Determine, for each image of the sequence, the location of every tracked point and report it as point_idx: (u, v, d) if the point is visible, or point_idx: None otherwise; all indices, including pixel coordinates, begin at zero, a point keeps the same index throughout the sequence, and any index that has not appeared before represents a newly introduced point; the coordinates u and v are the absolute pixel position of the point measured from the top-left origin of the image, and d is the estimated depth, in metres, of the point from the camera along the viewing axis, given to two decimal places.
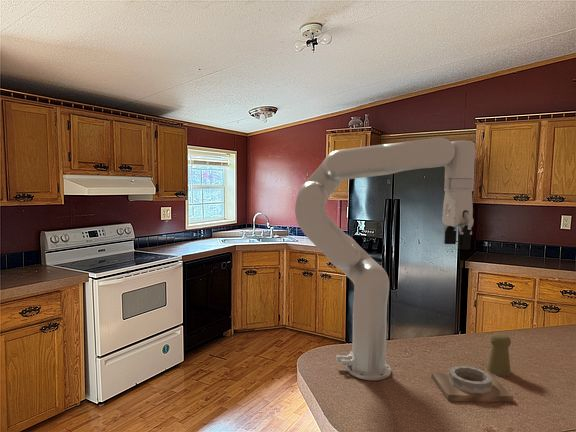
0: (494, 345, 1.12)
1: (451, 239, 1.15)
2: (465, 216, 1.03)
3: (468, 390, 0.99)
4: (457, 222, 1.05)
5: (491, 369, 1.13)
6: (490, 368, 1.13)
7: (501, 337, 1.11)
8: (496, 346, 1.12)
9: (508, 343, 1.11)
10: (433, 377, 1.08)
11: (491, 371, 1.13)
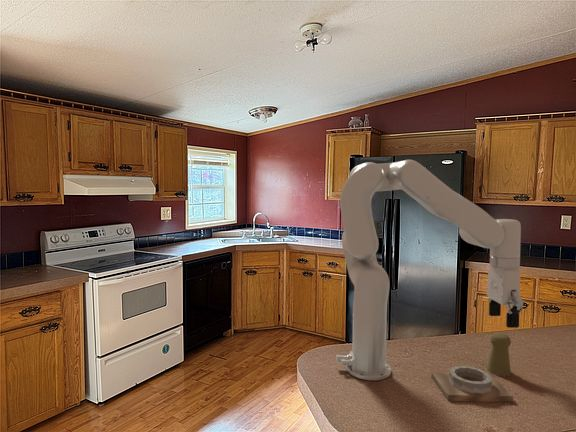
0: (494, 345, 1.12)
1: (496, 311, 1.17)
2: (514, 296, 1.06)
3: (468, 390, 0.99)
4: (505, 301, 1.07)
5: (491, 369, 1.13)
6: (490, 368, 1.13)
7: (501, 337, 1.11)
8: (496, 346, 1.12)
9: (508, 343, 1.11)
10: (433, 377, 1.08)
11: (491, 371, 1.13)
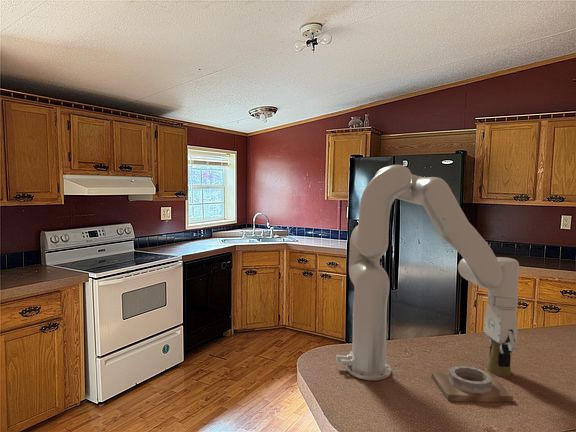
0: (494, 345, 1.12)
1: None
2: (508, 339, 1.08)
3: (468, 390, 0.99)
4: (502, 340, 1.08)
5: (491, 369, 1.13)
6: (490, 368, 1.13)
7: None
8: (496, 346, 1.12)
9: None
10: (433, 377, 1.08)
11: (491, 371, 1.13)
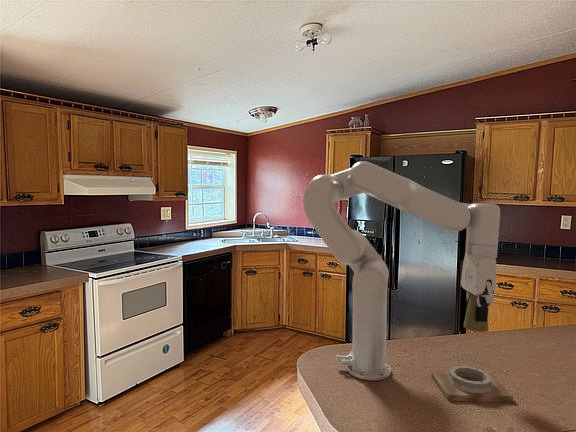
0: (471, 298, 1.03)
1: None
2: (486, 290, 0.98)
3: (468, 390, 0.99)
4: (479, 292, 0.99)
5: (468, 324, 1.03)
6: (466, 324, 1.04)
7: None
8: (473, 299, 1.02)
9: None
10: (433, 377, 1.08)
11: (467, 327, 1.03)
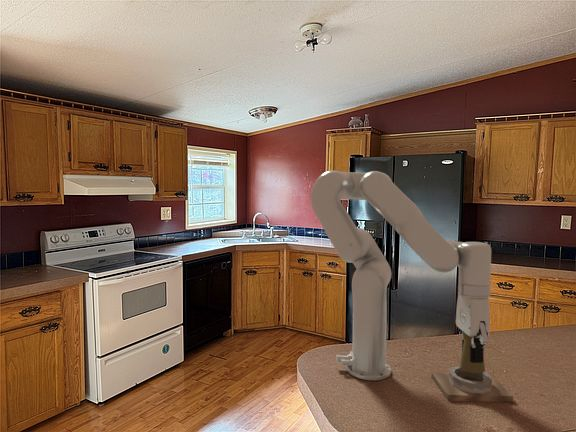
0: (466, 339, 1.02)
1: None
2: (480, 332, 0.97)
3: (468, 390, 0.99)
4: (473, 333, 0.97)
5: (463, 365, 1.02)
6: (462, 364, 1.02)
7: None
8: (468, 340, 1.01)
9: None
10: (433, 377, 1.08)
11: (463, 367, 1.02)
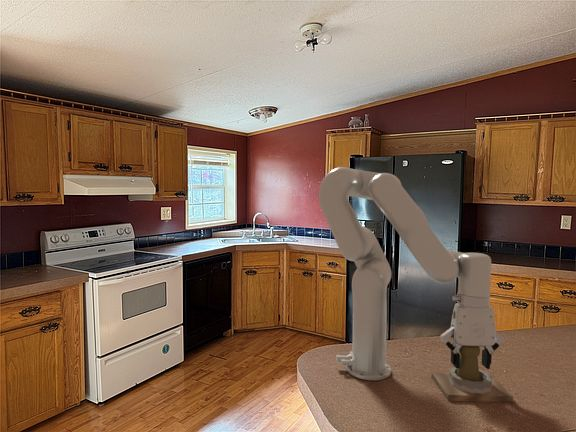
0: (475, 357, 1.01)
1: None
2: (496, 334, 1.02)
3: (468, 390, 0.99)
4: None
5: None
6: None
7: None
8: (477, 356, 1.01)
9: None
10: (433, 377, 1.08)
11: None
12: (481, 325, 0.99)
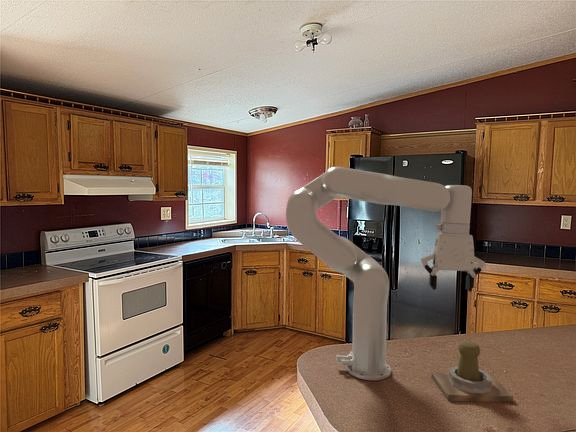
0: (475, 357, 1.01)
1: None
2: (476, 259, 1.09)
3: (468, 390, 0.99)
4: None
5: None
6: None
7: (476, 344, 1.02)
8: (477, 356, 1.01)
9: None
10: (433, 377, 1.08)
11: None
12: (460, 251, 1.07)
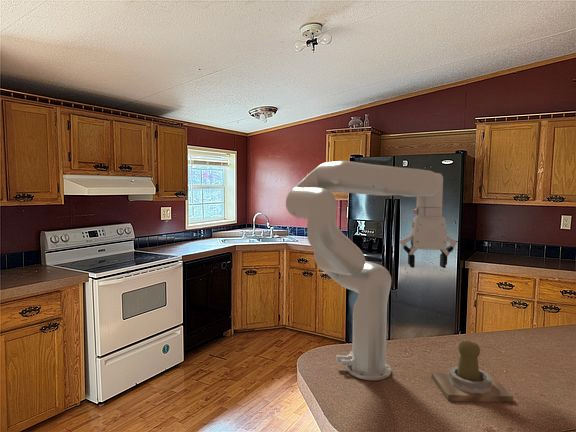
0: (475, 357, 1.01)
1: None
2: (449, 239, 1.22)
3: (468, 390, 0.99)
4: None
5: None
6: None
7: (476, 344, 1.02)
8: (477, 356, 1.01)
9: None
10: (433, 377, 1.08)
11: None
12: (434, 231, 1.19)
